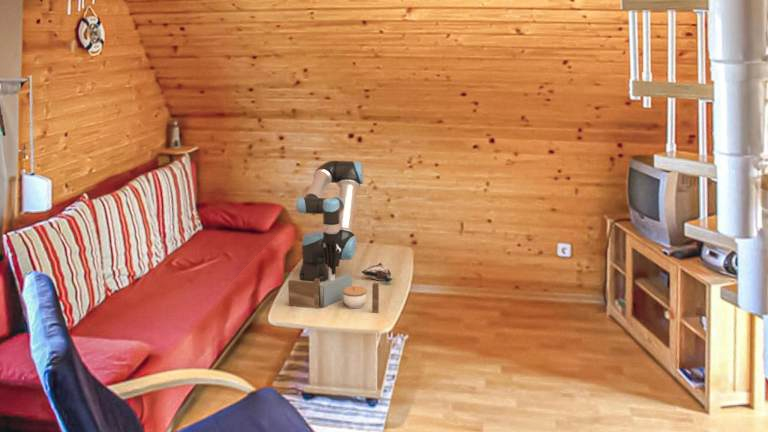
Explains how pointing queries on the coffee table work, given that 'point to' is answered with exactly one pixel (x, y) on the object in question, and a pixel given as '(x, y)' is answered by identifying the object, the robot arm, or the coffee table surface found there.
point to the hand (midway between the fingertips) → (331, 280)
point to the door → (333, 290)
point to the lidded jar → (354, 296)
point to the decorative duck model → (378, 273)
